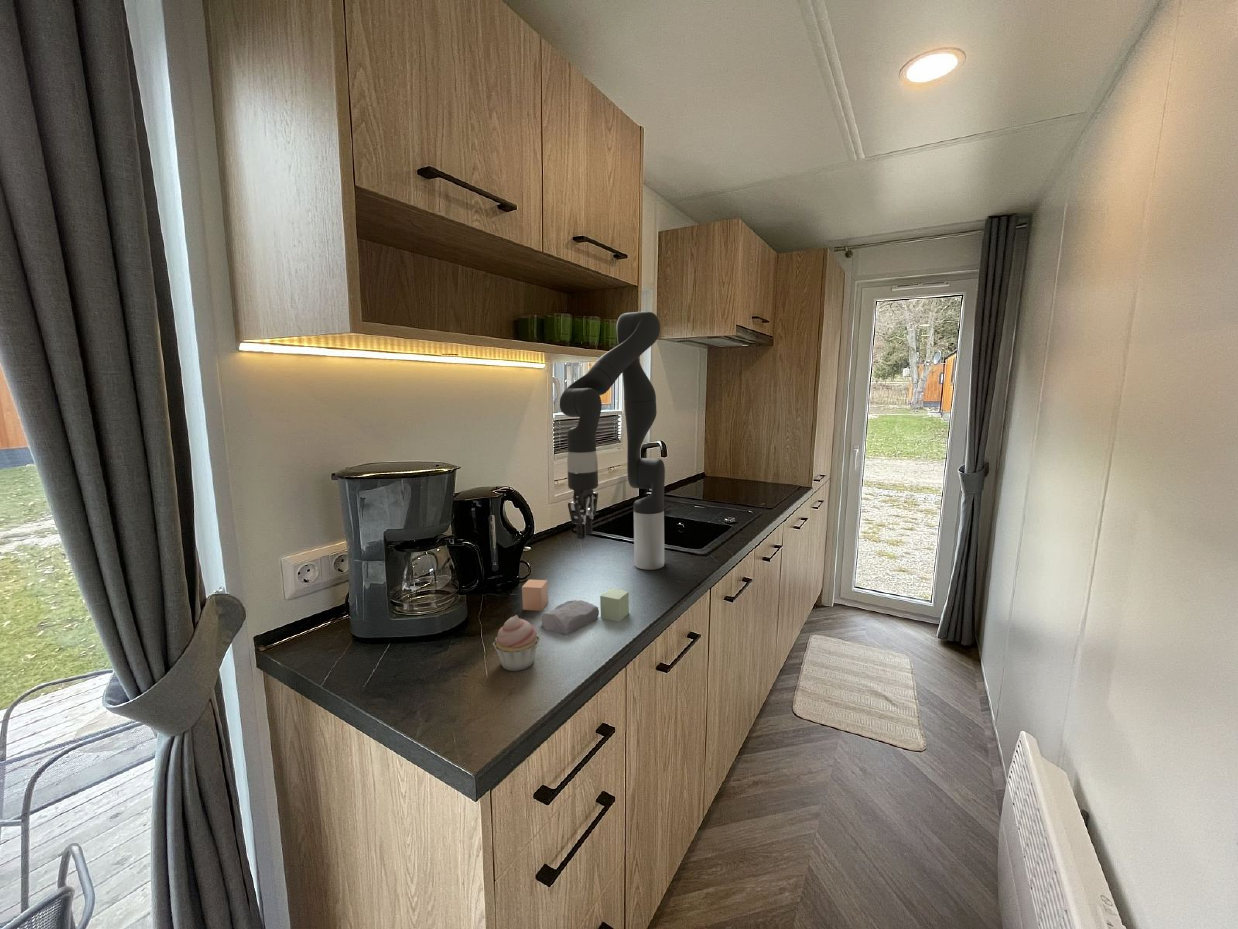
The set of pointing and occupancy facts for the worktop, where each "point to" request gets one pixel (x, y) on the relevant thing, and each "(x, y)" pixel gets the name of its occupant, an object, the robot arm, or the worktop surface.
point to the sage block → (614, 604)
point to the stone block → (570, 616)
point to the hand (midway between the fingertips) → (584, 535)
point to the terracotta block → (535, 594)
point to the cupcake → (516, 644)
